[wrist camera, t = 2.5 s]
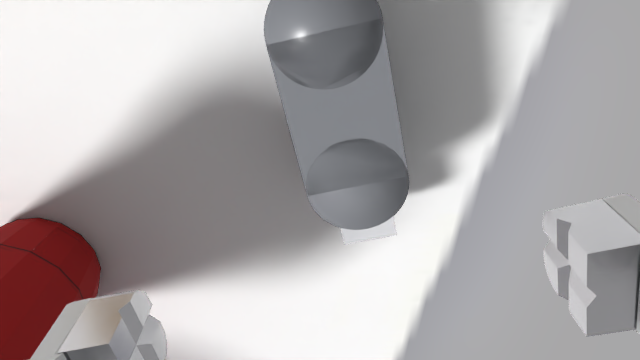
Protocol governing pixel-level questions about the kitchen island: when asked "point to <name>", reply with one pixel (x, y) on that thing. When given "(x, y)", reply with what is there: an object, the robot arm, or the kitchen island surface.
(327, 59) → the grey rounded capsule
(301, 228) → the kitchen island surface
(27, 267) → the plastic cup
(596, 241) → the robot arm
